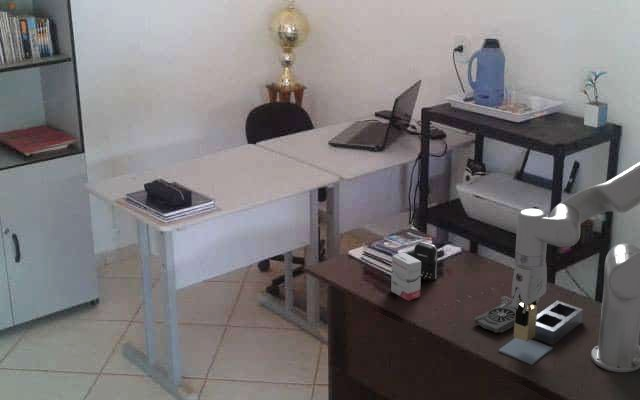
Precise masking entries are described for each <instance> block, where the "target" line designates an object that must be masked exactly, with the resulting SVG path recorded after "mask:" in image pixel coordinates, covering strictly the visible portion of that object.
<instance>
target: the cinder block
mask: <svg viewBox="0 0 640 400" xmlns="http://www.w3.org/2000/svg"><path fill="white" fill-rule="evenodd" d="M583 314H584V309H583V308H580V307H578V306H574V305H572V304H569V303H565V302H563V301H560V300H555V302H553V303H552V304H550V305H549V306H547V307H546V308H545V309H543V310H542V311H540V312H539V313H537V319H536V332H535V337H533V338H532V339H536V340H539V341H542V342H544V343H547V344H550V345H554V344H556V343H557V342H558V341H560V340H561V339H562V338H563V337H565V336H566V335H567V334H569V333H570V332H571V331H573V330H574V329H575V328H577V327H578V326H579V325H580V324H582V323H583V318H584V317H583V316H584V315H583Z"/></svg>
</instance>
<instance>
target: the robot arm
mask: <svg viewBox="0 0 640 400" xmlns="http://www.w3.org/2000/svg"><path fill="white" fill-rule="evenodd" d="M639 205H640V161H639V162H636V164H634V165H632V166H630V167H629V168H627V169H625V170H624V171H622V172H620V173H619V174H618V175H616V176H613V177H612V178H611V179H608V180H607V181H605V182H603V183H598V184H595V185H592V186H590V187H587V188H584V189H582V190H579V191H578V192H576V193H573V194H572V195H570V196H569V197H568V198H565V200H562V201H561V202H559V203H558V204H557V205H556V206H554V208H552V210H551V212H550V213H549V215H548V213H547V212H546V211H544V210H543V209H539V208H525V209H522V210H520V212H519V213H518V215H517V222H516V223H517V224H516V238H515V254H514V263H515V266H514V271H513V276H512V282H511V299H513V301H512V300H511V302H512V303H511V307H513V308H515V310H516V316H515V323H516V324H519V325H522V326H524V327H525V326H527V318H528V312H526V311H527V305H529V304H534V305H537V309H538V305H539V303H540V298H541V297H543V296H544V295H545V294H546V292H547V285H548V284H547V281H548V273H547V272H548V270H547V269H548V267H547V259H546V257H547V245H552V246H555V247H561V248H569V247H573V246H574V245H576V244H577V243H578V242H579V240H580V237H581V224H583V223H584V222H586V221H587V220H589V219H591V218H592V217H595V216H597V215H600V214H602V213H605V212H614V213H620V214H624V213H627V212H629V211H630V210H632V209H634V208H635V207H637V206H639ZM603 273H604V274H603V275H604V276H603V277H604V278H603V289H602V290H603V291H602V302H601V310H600V311H601V314H600V322H599V334H598V342H597V343H598V344H597V345H596V346H594V347H593V348H592V349H591V352H590V358H591V360H592V362H593V363H594V364H595V365H597V366H598V367H600V368H602V369H604V370H607V371H610V372H614V373H630V372H631V373H632V372H634V371H637V370H639V369H640V345H639V341H640V248H639V247H638V246H637V245H635V244H633V243H632V244H631V243H627V242H626V243H625V242H623V243H618V244H616V245H614V246H613V247H611V249H610V250H609V251H608V252H607V255H606V256H605V261H604V272H603ZM520 303H523V304H524V305H523V307H522V306H521V305H520ZM536 319H537V318H536Z"/></svg>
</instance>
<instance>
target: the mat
mask: <svg viewBox="0 0 640 400" xmlns="http://www.w3.org/2000/svg"><path fill="white" fill-rule="evenodd" d="M552 350H553V347H552V346H549V345H546V344H544V343H541V342H539V341H537V340H533V339H531V340H529V341H528V342H526V341H523V340H521V339H518V338H515V337H513V339H512V340H510V341H509V342H507V343H506V344H505V345H503V346H502V347H501V348H499V349H498V352H499V353H501V354H504V355H506V356H509V357H512V358H514V359H516V360H519V361H522V362H524V363H527V364H529V365H531V366H532V365H534V364H535V363H536V362H537V361H539V360H540V359H541V358H543V357H544V356H545V355H546V354H548V353H549V352H551V351H552Z"/></svg>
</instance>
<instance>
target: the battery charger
mask: <svg viewBox="0 0 640 400" xmlns="http://www.w3.org/2000/svg"><path fill="white" fill-rule="evenodd" d="M413 250H414V251H413V257H414V258H416V259H418V260H419V261H421V279H422V280H424V281H425V280H426V281H430V282H431V281H434V280H436V279H437V278H438V248H437V245H435V244H432V243H430V242H426V241H420V242H418V243H417V244H416V245H414V249H413Z"/></svg>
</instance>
